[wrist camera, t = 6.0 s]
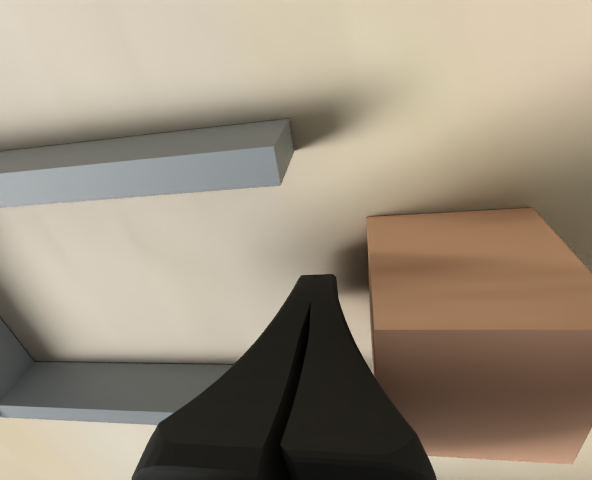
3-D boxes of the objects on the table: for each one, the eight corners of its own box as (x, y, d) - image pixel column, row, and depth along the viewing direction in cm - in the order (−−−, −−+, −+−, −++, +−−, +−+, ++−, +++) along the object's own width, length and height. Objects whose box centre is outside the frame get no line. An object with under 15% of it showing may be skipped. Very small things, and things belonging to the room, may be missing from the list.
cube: (505, 324, 14) (572, 464, 9) (370, 325, 15) (378, 452, 10) (532, 207, 11) (642, 329, 7) (366, 217, 12) (374, 330, 8)
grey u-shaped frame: (327, 380, 17) (324, 433, 15) (28, 373, 20) (-10, 416, 18) (289, 118, 11) (273, 146, 8) (-141, 167, 14) (-230, 196, 11)
